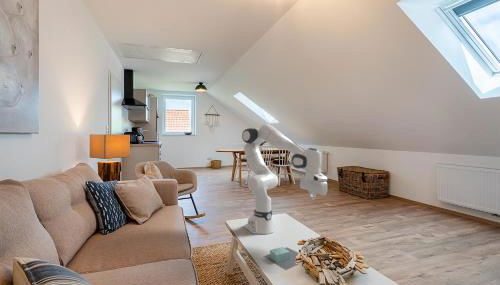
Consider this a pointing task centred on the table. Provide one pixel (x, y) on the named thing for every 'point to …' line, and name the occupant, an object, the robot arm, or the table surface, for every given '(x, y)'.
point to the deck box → (279, 254)
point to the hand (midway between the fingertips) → (312, 199)
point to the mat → (287, 263)
